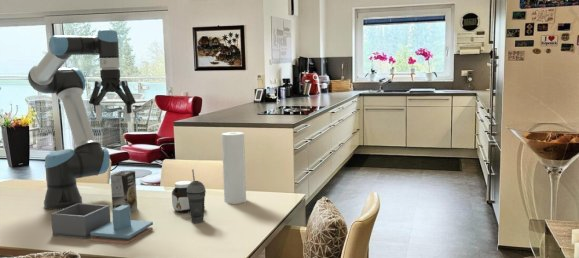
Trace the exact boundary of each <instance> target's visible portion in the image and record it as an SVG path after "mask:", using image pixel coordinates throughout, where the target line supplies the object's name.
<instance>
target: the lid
mask: <svg viewBox="0 0 579 258" xmlns="http://www.w3.org/2000/svg"><path fill="white" fill-rule="evenodd" d="M111 211H112V221H111V222H110V223H108V224H106V225H104V226H102V227H100V228H98V229H96V230H94V231H92V232H90V235H93V236H95V237H96V236H98V237H102V238H114V239H126V240H128V239H130V238H131V237H133V236H135V235H137V234H138V233H140V232H142V231H143V230H145V229H146V228H148V227H152V226H153V225H154V221H145V220H134V219H133V220H132V219H131V213H130V206H129V205H122V206H119V207H117V208H115V209H113V208H112V210H111Z"/></svg>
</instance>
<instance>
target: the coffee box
mask: <svg viewBox="0 0 579 258" xmlns="http://www.w3.org/2000/svg"><path fill="white" fill-rule="evenodd" d="M110 184H111V185H110V186H111V188H110V189H111V205H112V210H113V209H115V208H117V207H119V206H122V205H129V206H130V212H131V213H132V212H134V211H136V210H137V209H138V199H137V195H138V194H137V182H136V171H135V170H126V171H125V170H123V171H119V172H116V173H114V174H112V175H110Z"/></svg>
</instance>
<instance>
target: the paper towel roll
mask: <svg viewBox="0 0 579 258" xmlns="http://www.w3.org/2000/svg"><path fill="white" fill-rule="evenodd" d="M221 146H222V147H221V149H222V171H223V172H222V175H223V199H224V203H226V204H228V205H229V204H233V205H234V204H235V205H236V204H237V205H238V204H242V203H246V201H247V186H246V184H247V183H246V182H247V181H246V158H245V157H246V154H245V132H243V131H228V132H222V133H221Z"/></svg>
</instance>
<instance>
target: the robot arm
mask: <svg viewBox="0 0 579 258" xmlns="http://www.w3.org/2000/svg"><path fill="white" fill-rule="evenodd" d="M48 48H49V49H48V51H47V53H46V54H45V55H44V56H43V58H42V59H41V60H40V62H38V64H36V65H33V67H31V68H30V70H29V71H28V74H27V80H28V84H29V85H30V87H32V89H34V90H35V91H37V92H39V93H42V94H45V95H46V94H55V95H56V98H57V99H58V100H59V101H61V102H62V106H63V108H64V111H65V115H66V118H67V121H68V124H69V127H70V131H71V134H72V137H73V141H74V144H75V147H74V149H71V148H70V149H69V148H66V149H60V150H55V151H52V152H50V153H48V154H47V155H45V158H44V169H45V178H46V193H45V196H44V200H43V206H44V207H43V208H44V209H46V210H62V209H65V208H67V207H70V206H72V205H75V204H77V203H81V204H83V197H82V195H81V192H80V191H79V189H78V188H79V187H78V186H77V179H81V178H87V177H88V178H89V177H94V176H98V175H103V174H106V173H107V172H108V170H109V167H110V164H111V163H110V161H111V156H110V152H109V150H108V149H107V147H102V146H101V145H102V144H101V142H99V141H98V140H96V138H95V134H94V132H93V129H92V125H91V123H90V119H89V116H88V113H87V110H86V107H85V103H84V100H83V97H82V96H83V94H84V91H85V89H86V84H87V83H86V78H85V76H84V74H83V72H82V70H81V69H79V68H77V67H70V66H68V67H67V66H66V67H62V66H63V65H64V64H65V63H66V62H67V60H68V59H69V58H70V57H71V56H76V55H77V56H81V55H84V56H85V55H86V56H87V55H89V56H91V55H92V56H99V58H98V59H99V68H100V69H101V70H99V72H100V74H99V75H100V79H101V80H95V81H94V86H93V89H92V93H91V96H90V99H89V104H91V105H93V111H94V114H95V119H96V120H95V121H96V122H102V121H103V115H102V104H101V102H102V101H103V99H104V98H105V96H106V94H108V93H115V94H116V95H118V97H119V98H120V100H122V102H123V103H124V104H125V105H124V106H123V107H124V110H123V111H124V122H125V123H128V122H131V120H132V119H131V118H132V117H131V114H132V112H133V111H132V105H135V104H137V103H136V99H135V97H134V95H133V93H132V91H131V90H130V88H129V84H128V80H121V71H120V69H119V68H121V64H120V55H119V54H120V53H119V51H120V50H119V37H118V31H117V30H115V29H99V30H98V31H97V35H96V36H95V35H92V36H91V35H62V34H61V35H53V36H51V37H50V38H49V41H48ZM101 87H102V88H101ZM121 87H122V88H121Z"/></svg>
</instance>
